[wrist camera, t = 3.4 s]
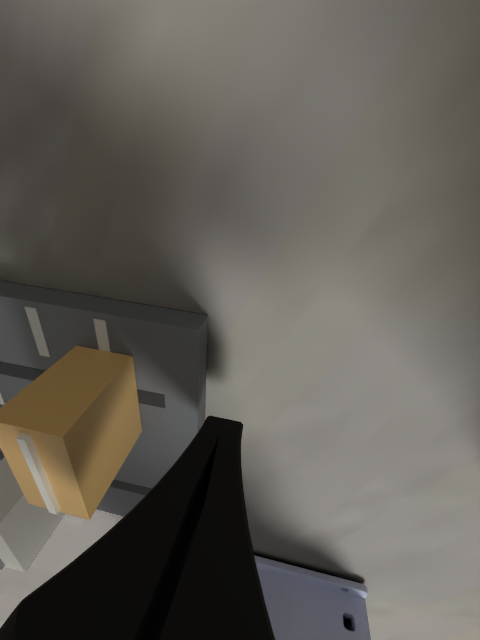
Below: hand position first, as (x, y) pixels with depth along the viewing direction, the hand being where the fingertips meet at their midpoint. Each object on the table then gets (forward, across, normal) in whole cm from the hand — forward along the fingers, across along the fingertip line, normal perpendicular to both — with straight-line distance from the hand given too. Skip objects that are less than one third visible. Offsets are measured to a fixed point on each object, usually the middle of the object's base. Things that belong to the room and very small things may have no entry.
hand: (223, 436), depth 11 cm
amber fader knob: (+1, +5, 0) cm, 6 cm away
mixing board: (+2, +9, +4) cm, 10 cm away
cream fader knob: (+1, +10, +8) cm, 13 cm away
